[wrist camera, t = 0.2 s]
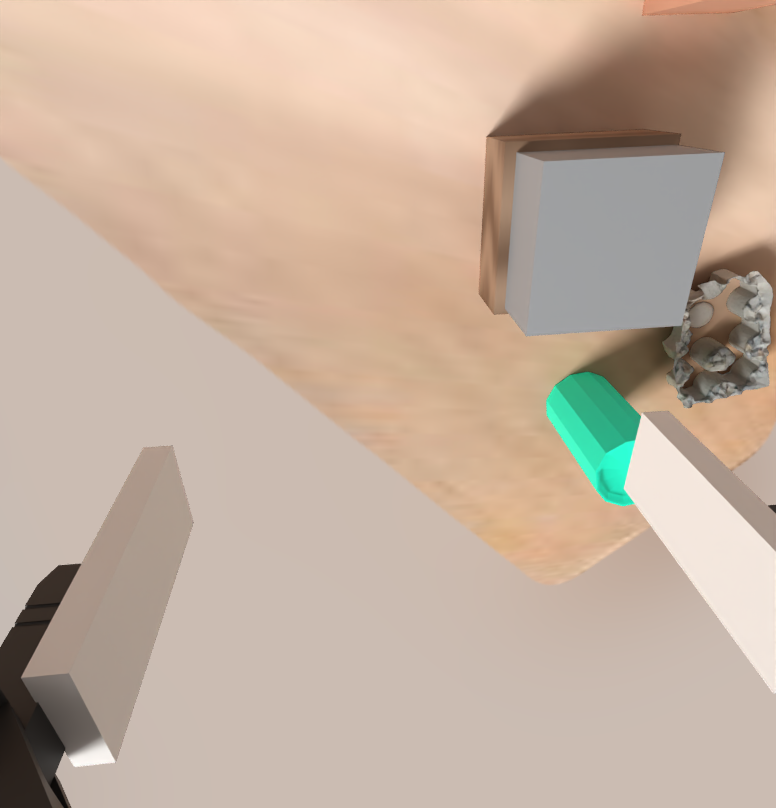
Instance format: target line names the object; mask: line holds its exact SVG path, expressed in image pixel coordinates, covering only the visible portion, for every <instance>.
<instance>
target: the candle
mask: <svg viewBox="0 0 776 808" xmlns="http://www.w3.org/2000/svg"><path fill="white" fill-rule="evenodd" d="M546 406H547V416H548V418H549V419H550V421H551V422H552V424H553V425H554V427H555V429H556V430H557V432H558V433H559V435H560V436H561V438H562V439H563V441H564V442H565V444H566V445H567V447H568V448H569V450H570V451H571V453H572V454H573V456H574V457H575V459H576V460H577V462H578V463H579V465H580V466H581V468H582V469H583V471H584V472H585V474H586V476H587V477H588V479H589V480H590V482H591V483H592V485H593V486H594V488H595V489H596V491H597V492H598V493H599V494H600V495H601V497H602V498H603V499H604V500H605V501H606V502H610V503H613V504H617V505H620V506H626V505H631V504H635V503H634V502H633V501H632V499H631V498H630V497H629V495H628V494H627V492H626V491H625V490H624V485H625V481H626V477H627V473H628V469H629V465H630V461H631V456H632V452H633V448H634V444H635V440H636V436H637V432H638V428H639V424H640V419H641V416H640V415H639V414H638V413H637V412H636V411H635V410H634V409H633V407H632V406H631V405H630V404H629V403H628V402H627V401H626V400H625V399H624V398H623V397H622V396H621V395H620V394H619V393H618V392H617V391H616V390H615V388H614V387H613V386H612V385H611V384H610V383H609V382H608V381H607V380H606V379H605V378H604V377H603V376H600V375H597V374H594V373H591V372H583V373H577V374H572V375H569V376H568V377H566V378H565V379H564V380H562V381H561V382H559V383H558V384H556V385H555V386H554V388H553V390H552V392H551V393H550V395H549V397H548V398H547V400H546Z"/></svg>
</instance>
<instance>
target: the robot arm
mask: <svg viewBox="0 0 776 808" xmlns="http://www.w3.org/2000/svg"><path fill="white" fill-rule="evenodd" d="M624 490H625V491H626V492H627V494H628V495H629V497H630V498H631V499H632V501H633V502H634V503H635V505H636V506H637V508H638V509H639V510H640V512H641V513H642V514H643V516H644V517H645V518H646V520H647V521H648V523H649V524H650V525H651V527H652V528H653V529H654V531H655V532H656V534H657V535H658V536H659V537H660V539H661V540H662V542H663V543H664V544H665V546H666V547H667V549H668V550H669V551H670V553H671V554H672V555H673V557H674V558H675V559H676V561H677V562H678V564H679V565H680V566H681V568H682V569H683V570H684V572H685V573H686V575H687V576H688V577H689V579H690V580H691V581H692V583H693V584H694V586H695V587H696V588H697V590H698V591H699V592H700V594H701V595H702V596H703V598H704V599H705V601H706V602H707V603H708V605H709V606H710V607H711V609H712V610H713V611H714V613H715V614H716V616H717V617H718V618H719V620H720V621H721V622H722V624H723V625H724V627H725V628H726V629H727V631H728V632H729V633H730V635H731V636H732V638H733V639H734V640H735V642H736V643H737V644H738V646H739V647H740V648H741V650H742V651H743V652H744V654H745V655H746V657H747V658H748V659H749V661H750V662H751V663H752V665H753V666H754V667H755V669H756V670H757V672H758V673H759V674H760V675H761V677H762V679H763V680H764V681H765V683H766V684H767V685H768V687H769V688H770V689H771V691H772V692H773V693H776V505H769V506H767V505H766V504H765V503H764V502H763V501H762V500H761V499H760V498H759V497H758V496H757V495H756V494H755V493H754V492H753V491H752V490H751V489H750V488H748V487H747V486H746V485H745V484H744V483H743V482H742V481H741V480H740V479H739V478H738V477H737V476H736V475H735V474H734V473H733V472H732V471H731V470H730V469H729V468H728V467H726V466H725V465H724V464H723V463H722V462H721V461H720V460H719V459H718V458H717V457H716V456H715V455H714V454H713V453H712V452H711V451H710V450H709V449H708V448H707V447H705V446H704V445H703V444H702V443H701V442H700V441H699V440H698V439H697V438H696V437H695V436H694V435H693V434H692V433H691V432H690V431H689V430H688V429H687V428H686V427H685V426H683V425H682V424H681V423H680V422H679V421H678V420H677V419H676V418H675V417H674V416H673V415H672V414H671V413H670V412H669V411H657V412H643V413H642V415H641V419H640V424H639V428H638V432H637V436H636V440H635V444H634V448H633V452H632V456H631V461H630V465H629V469H628V473H627V477H626V481H625V485H624ZM193 523H194V522H193V519H192V515H191V512H190V508H189V504H188V501H187V497H186V493H185V489H184V486H183V482H182V478H181V476H180V471H179V467H178V464H177V460H176V457H175V453H174V449H173V446H159V447H145V448H143V450H142V452H141V453H140V455H139V457H138V459H137V461H136V463H135V464H134V467H133V468H132V470H131V472H130V474H129V476H128V478H127V479H126V481H125V483H124V485H123V487H122V489H121V491H120V493H119V495H118V496H117V498H116V500H115V502H114V504H113V506H112V508H111V509H110V511H109V513H108V515H107V517H106V519H105V521H104V523H103V525H102V526H101V529H100V530H99V532H98V534H97V536H96V538H95V540H94V541H93V543H92V545H91V547H90V549H89V551H88V553H87V555H86V556H85V558H84V560H83V562H82V564H71V565H59V566H57V567H56V568H55V569H54V570H53V571H52V572H51V573H50V574H49V575H48V576H47V577H45V578H44V579H43V580H42V581H41V582H40V583H39V584H38V585H37V587H36V588H35V590H34V592H33V593H32V595H31V597H30V598H29V600H28V602H27V603H26V605H25V606H26V607H25V610H22V612H21V613H20V615H19V617H18V619H17V620H16V622H15V627H12V629H11V630H10V632H9V634H8V635H7V637H6V639H5V640H4V642H3V644H2V645H1V647H0V808H71V806H70V804H69V802H68V799H67V797H66V794H65V792H64V790H63V787H62V785H61V783H60V781H59V779H58V778H57V776H56V774H55V773H56V770H57V768H58V765H59V763H60V761H61V758H62V756H63V753H64V751H65V752H66V754H67V756H68V757H69V759H70V761H71V762H72V764H73V766H74V767H78V766H87V765H97V764H107V763H116V761H117V758H118V754H119V751H120V748H121V745H122V742H123V739H124V736H125V732H126V730H127V726H128V723H129V720H130V717H131V714H132V711H133V708H134V705H135V702H136V699H137V696H138V693H139V690H140V687H141V683H142V680H143V677H144V674H145V671H146V668H147V665H148V662H149V659H150V655H151V653H152V649H153V646H154V643H155V640H156V637H157V634H158V631H159V628H160V625H161V622H162V618H163V615H164V612H165V609H166V606H167V603H168V600H169V597H170V594H171V590H172V588H173V584H174V582H175V579H176V575H177V572H178V569H179V566H180V563H181V560H182V557H183V554H184V550H185V548H186V544H187V541H188V538H189V535H190V532H191V529H192V526H193Z"/></svg>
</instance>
